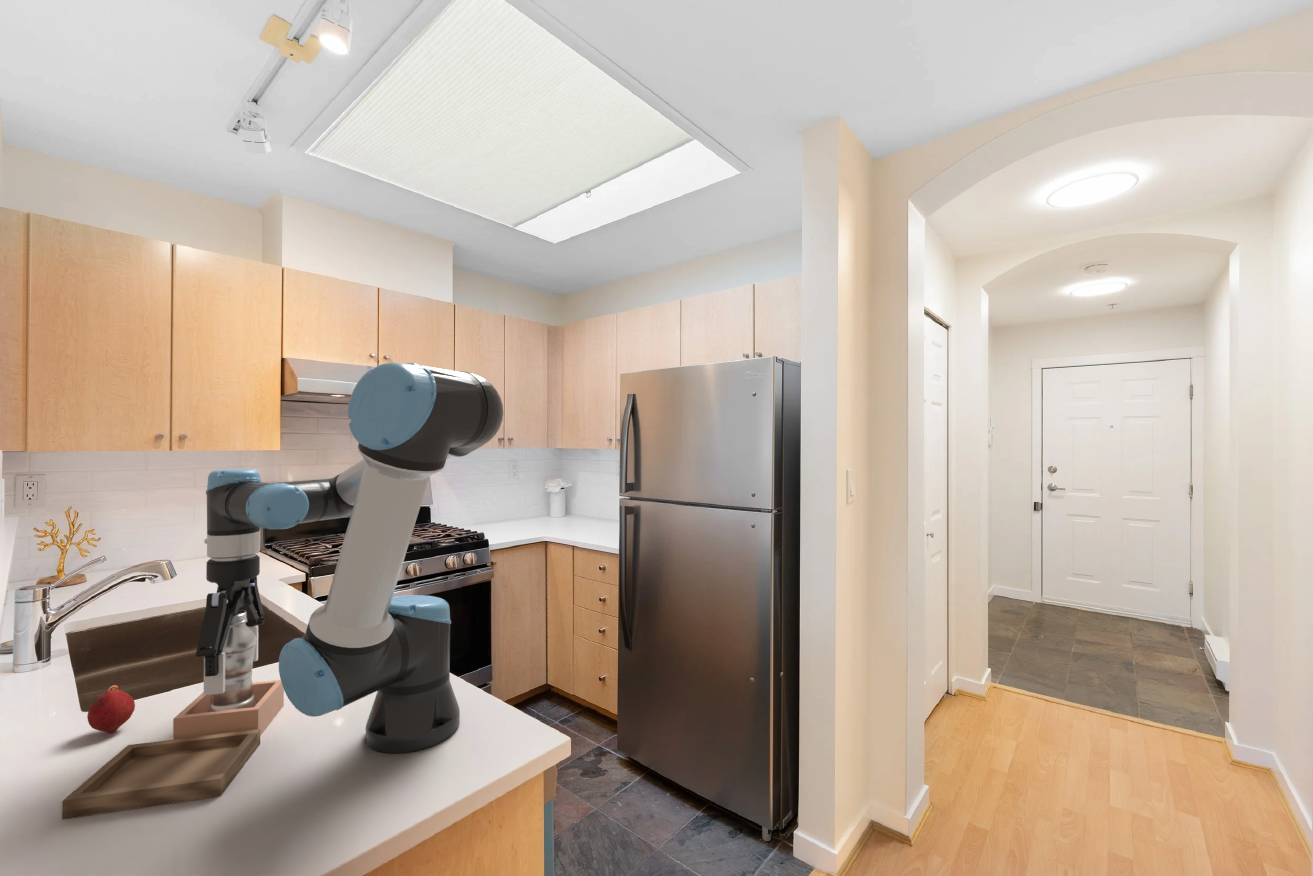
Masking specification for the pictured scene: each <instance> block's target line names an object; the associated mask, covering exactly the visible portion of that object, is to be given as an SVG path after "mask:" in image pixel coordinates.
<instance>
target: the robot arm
mask: <svg viewBox="0 0 1313 876" xmlns="http://www.w3.org/2000/svg"><path fill="white" fill-rule="evenodd" d="M347 417H348V418H349V419H351V420H350V422H349V423H348V426H349V430H350V432H351V434H352V436H353V438H354V439H355V440H356V442H358V445H357V451H358V452H359V454H360V455H361V456H362V458H363V459H361V460H360V461H358V462H356V463H355V464H353V465H351V466H350V467H348V468H347V469H345V470H344V471H342V472H340V473H339V474H337V475H335V476H333V477H332V478H331V477H330V478H324V479H310V480H295V481H293V480H292V481H282V482H281V481H280V482H262V480H261V473H260V471H258V470H257V469H254V468H231V469H227V468H226V469H217V470H212V471H211V472H210V473H209V474H208V475H207V485H206V490H205V494H206V538H205V539H204V541H203V543H204V544H205V545H206V557H208V558H209V559H208V560H207V561H206V569H205V570H206V572H205V573H206V576H205V578H206V581H207V582H209V583H214V584H216V585H217V588H216V589H217V590H216V592H213V593H208V594H207V595H206V601H205V603H206V604H205V610H204V616H203V621H202V625H201V629H200V634H199V638H198V643H197V647H196V652H195V657H196V658H203V692H204V695H210V694H220V693H224V692H225V652H222V651H223V647H224V644H225V641H226V638H227V634H228V631H229V628H230V625H231V621H232V618H233V616H235V615H236V614H237V613H238V610H245V611H246V617H247V622H246V623H245V624H246V626H247V627H249V628H250V629H251V630H252V632H253V633H254V634H255V636H256V646H255V652H254V657H253V662H257V661H258V660H259V625H264V623H265V617H264V615H265V614H264V610H263V609H264V608H263V605H262V601H261V596H260V591H259V586H258V576H259V575H260V571H261V569H260V564H261V563H260V559H261V558H260V556H259V555H258V554H259V552H261V529H267V530H270V531H271V530H272V531H274V530H286V529H290V528H294V527H295V526H297V525H298V524H306V523H313V522H318V521H326V520H335V519H341V518H342V519H344V518H349V521H348V524H347V528H346V530H345V536H344V538H343V541H342V546H341V549H340V553H339V556H338V559H337V563H336V567H335V571H334V573H333V574H334V575H333V578H332V582H331V584H330V589H329V591H328V596H327V599H326V602H325V604H323V605H321V606H319V607H317V608H316V609H315V610H314V611H313V612H312V613H311V615H310V617H309V620H308V623H307V627H306V631H305V633H304V635H303V636H302V637H294V638H293V639H292V640H291V641H288V642H287V643H284V645H283V647H282V648H281V651H280V653H279V656H278V673H279V674H278V675H279V678H280V679H279V680H281V683H282V685H283V688H284V693H285V694H286V696H287V698H288V700H289V702H290V703H291V704H292V705H293V707H294V708H295V709H296V710H297V711H298V712H300V713H301V714H303V715H305V716H307V717H321V716H324V715H326V714H329V713H332V712H335V711H339V710H342V709H343V708H344V707H346V706H348V705H350V704H352V703H354V702H357V701H359V700H361V699H363V698H365V697H368V696H369V695H372V694H374V693H375V692H376V694H375V698H374V700H373V703H372V706H371V710H370V712H369V715H368V718H367V721H366V724H365V743H366V744H367V747H369V748H371V750H372V749H373V750H374V751H377V752H381V753H389V754H400V753H401V754H402V753H410V752H416V751H419V750H423V749H427V748H429V747H433V746H434V745H436V744H439V743H441V742H444V741H445V740H447V739H448V738H450V737H451V736H452V735H453V734H454V733H455V732H456V731H457V730H458V729H459V726H460V723H461V720H460V719H461V718H460V717H461V713H460V712H461V711H460V707H459V704H458V700H457V698H456V693H455V691H454V689H453V687H452V684H451V683H452V682H451V679H450V674H451V672H450V671H451V669H450V668H451V667H450V664H451V663H450V661H451V625H452V620H451V615H450V614H451V612H450V611H451V610H450V604H449V602H448V601H446V600H445V599H443V598H441V597H439V596H438V597H437V596H434V595H425V594H424V595H423V594H422V595H420V594H419V595H418V594H417V595H416V594H410V595H409V594H408V595H407V594H406V595H405V594H404V595H396V596H395V595H394V594H395V590H396V587H397V584H398V581H399V577H400V574H401V570H402V569H403V568H402V567H403V565H404V561H405V558H406V555H407V552H408V551H407V550H408V548H409V546H410V542H411V538H412V535H413V532H414V529H415V525H416V521H417V519H418V515H419V513H420V509H421V505H422V502H423V499H424V496H425V492H426V489H427V487H428V483H429V480H430V477H431V476H432V475H434V474H437V473H439V472H441V471H443V469H444V468H445V465H446V461H447V460H448V459H450V458H451V457H455V458H461V457H465V456H467V455H468V454H471V453H473V452H474V451H476V450H478V449H479V448H481V447H483V446H484V445H486V444H487V443H489V442H490V441H491V440H492V439H493V438H494V437H495V436H496V435H497V434H498V431H499V430H500V428H501V425H502V422H503V420H504V419H503V418H504V405H503V401H502V398H501V396H500V394H499V393H498V390H497V389H496V388H495V386H494V385H493V384H492V383H490V382H489V381H488V380H487V379H486V378H485V377H482V376H480V375H478V374H475V373H472V372H468V371H461V370H459V371H458V370H453V369H446V368H441V367H435V366H430V365H429V366H428V365H423V364H418V363H415V362H406V363H399V362H387V363H382V364H379V365H378V364H377V366H375V368H371V369H369V370H368V371H366V373H364V374H363V376H361V377H360V379H359V380H358V381H357V383H356V385H355V387H354V388H353V390H352V392H351V395H350V399H349V402H348V407H347ZM210 647H211V648H210Z"/></svg>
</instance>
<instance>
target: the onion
mask: <svg viewBox="0 0 1313 876" xmlns="http://www.w3.org/2000/svg"><path fill="white" fill-rule="evenodd" d="M118 688H119V685H116V684H115V685H112V686H110V687H109V688H108V689H107V690H106V691H105V692H104V693H103V694H101V695H100V696H99V697H98V698H96V700H95V701H94V702H93V703H92V704H91V705H90V707H89V709H88V711H87V717H86V718H87V723H88V725H89V726H90V727H91V728H92V729H94V730H95V731H99V732H104V733H108V734H111V733H112V734H113V733H115V732H116V731H118V729H119V728H121V727H122V726H123V725H124V724H125V723H127V721H128V720H129V719H131V717H132V715H133V713H134V712H135V708H136V704H135V700H134V698H133V697H132V695H130V694H129V693H127V692H125V691H123V690H119V689H118Z"/></svg>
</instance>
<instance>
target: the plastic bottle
mask: <svg viewBox="0 0 1313 876" xmlns="http://www.w3.org/2000/svg"><path fill="white" fill-rule="evenodd" d="M246 622H247V617H246V611H245V610H238V613H237V614H236V615H235V616H233V618H232V621H231V625H230V628H229V631H228V634H227V638H226V641H225V644H224V647H223V651H222V652H225V692H224V693H220V694H213V696H212V703H211V706H210V710H209V712H215V711H224V710H233V709H242V708H251V707H255V705H256V704H255V698H254V695H253V686H252V683H253V677H252V676H253V665H254V664H253V662H254V661H253V657H254V652H255V646H256V636H255V634H254V633H253V632H252V630H251V629H250V628H249V627H247V626H246V624H245V623H246ZM210 648H211V647H210Z"/></svg>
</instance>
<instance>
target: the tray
mask: <svg viewBox="0 0 1313 876" xmlns="http://www.w3.org/2000/svg"><path fill="white" fill-rule="evenodd" d="M260 745H261V736H260V729H256V730H248V731H239V732H231V733H223V734H215V735H206V736H198V737H190V738H182V739H167V740H158V741H150V742H143V743H142V742H141V743H134V744H128V745H126V746H125V747H124V748H122V750H120V751H119V752H118V753H117V754H116V755H114V756H113V757H112V758H111V759H110V760H109V761H108V762H106V763H105V764H104V765H103V766H101V767H100V768H99V769H97V771H96V772H94V773H93V774H92V775H90V776H89V777H88V778H87V779H86V780H85V781H83V782H82V784H80V785H78V787H76V788H75V789H74V790H72V792H71V793H69V794H68V795H67V796H66V797H65V798H64V799H63V800H62V801H61V820H67V819H68V820H69V819H73V818H79V817H80V818H81V817H87V816H94V815H101V814H108V813H113V812H114V813H115V812H121V811H129V810H135V809H143V808H149V807H155V806H156V807H157V806H161V805H162V806H163V805H169V804H174V803H175V804H176V803H183V802H189V801H196V800H202V799H203V800H204V799H209V798H216V797H222V795H223V794H224V792H225V791H226V789H227V788H229V786H230V785H231V783H232V782H233V780H235V778H236V777H237V775H238V774H239V773H240V772H241V770H242V769H243V767H245V765H246V763H247V762H248V761H249V759H250V758H251V757H252V756H253V754H254V753H255V752H256V750H257V749H258V747H259V746H260Z"/></svg>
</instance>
